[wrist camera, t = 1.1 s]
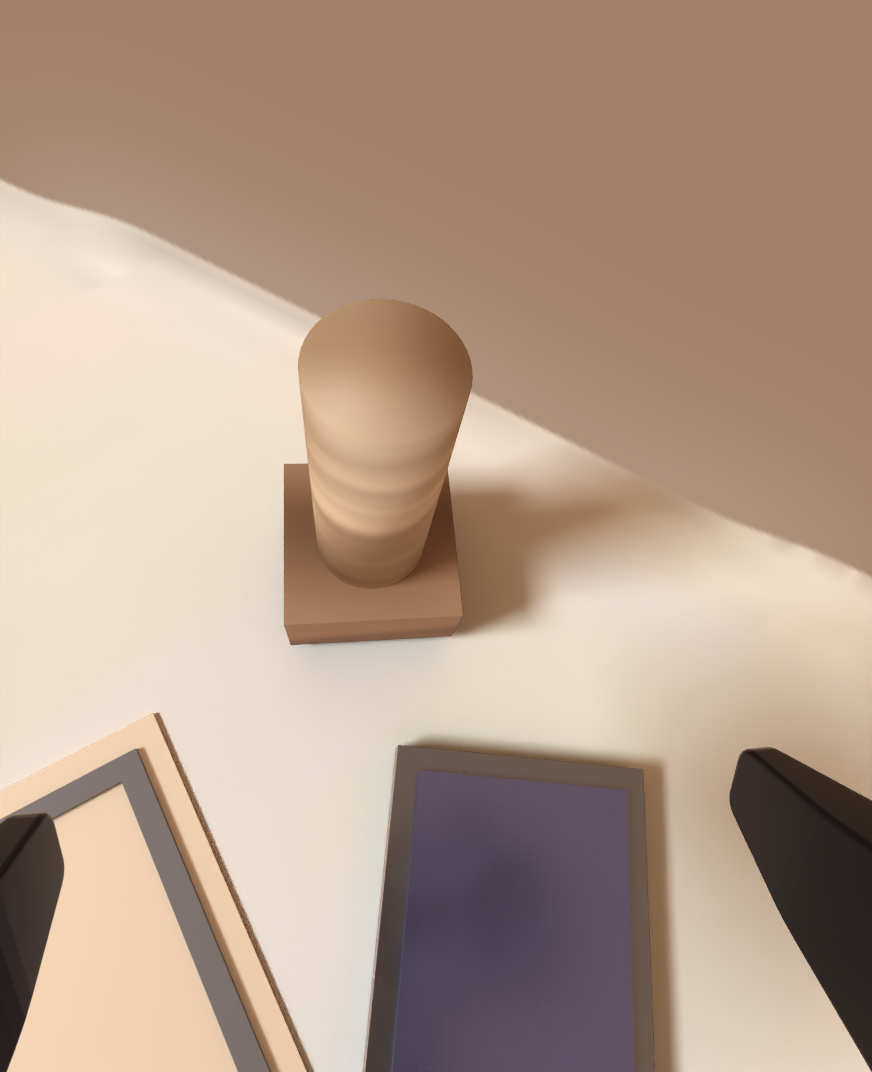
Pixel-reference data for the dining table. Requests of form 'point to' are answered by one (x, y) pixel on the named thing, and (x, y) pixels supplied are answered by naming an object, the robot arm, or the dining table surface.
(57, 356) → the dining table surface
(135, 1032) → the marked card
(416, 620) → the stamp
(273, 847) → the dining table surface
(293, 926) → the dining table surface
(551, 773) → the ink pad
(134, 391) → the dining table surface
